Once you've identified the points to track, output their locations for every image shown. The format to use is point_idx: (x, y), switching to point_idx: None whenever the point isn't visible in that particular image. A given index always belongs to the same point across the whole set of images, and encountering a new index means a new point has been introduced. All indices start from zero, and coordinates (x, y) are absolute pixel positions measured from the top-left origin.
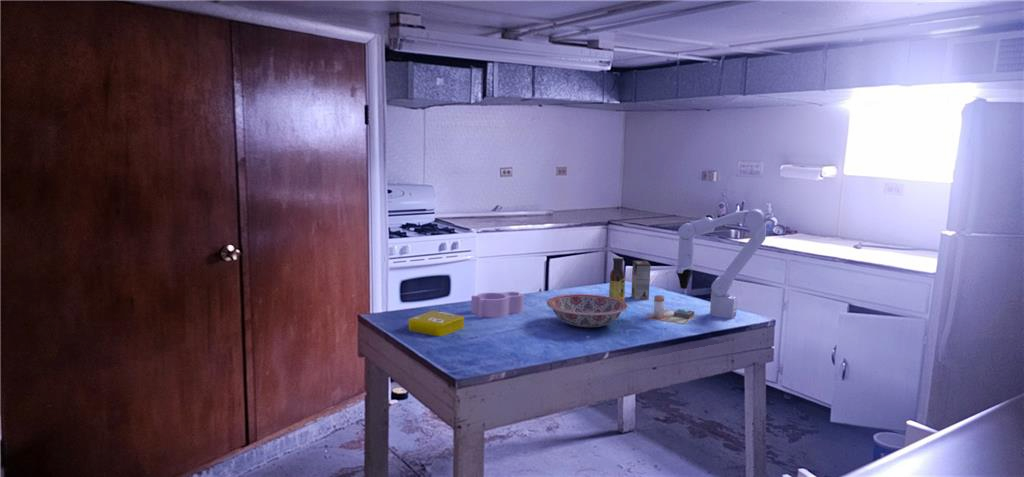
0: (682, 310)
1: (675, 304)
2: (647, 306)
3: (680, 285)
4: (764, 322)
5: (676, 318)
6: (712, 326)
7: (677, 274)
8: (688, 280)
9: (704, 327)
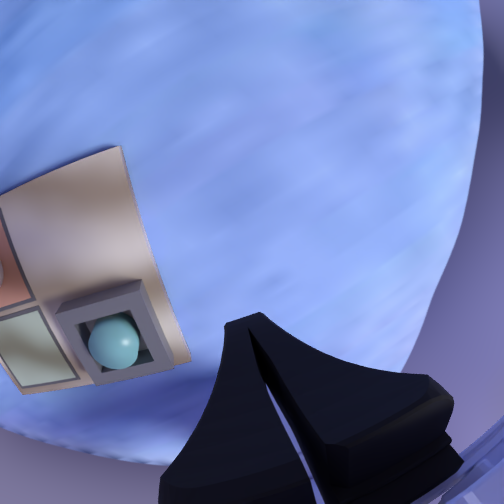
0: (98, 347)
1: (361, 117)
2: (190, 20)
3: (224, 341)
4: None
5: (42, 337)
6: (131, 437)
7: (177, 457)
8: (293, 432)
9: (93, 428)
